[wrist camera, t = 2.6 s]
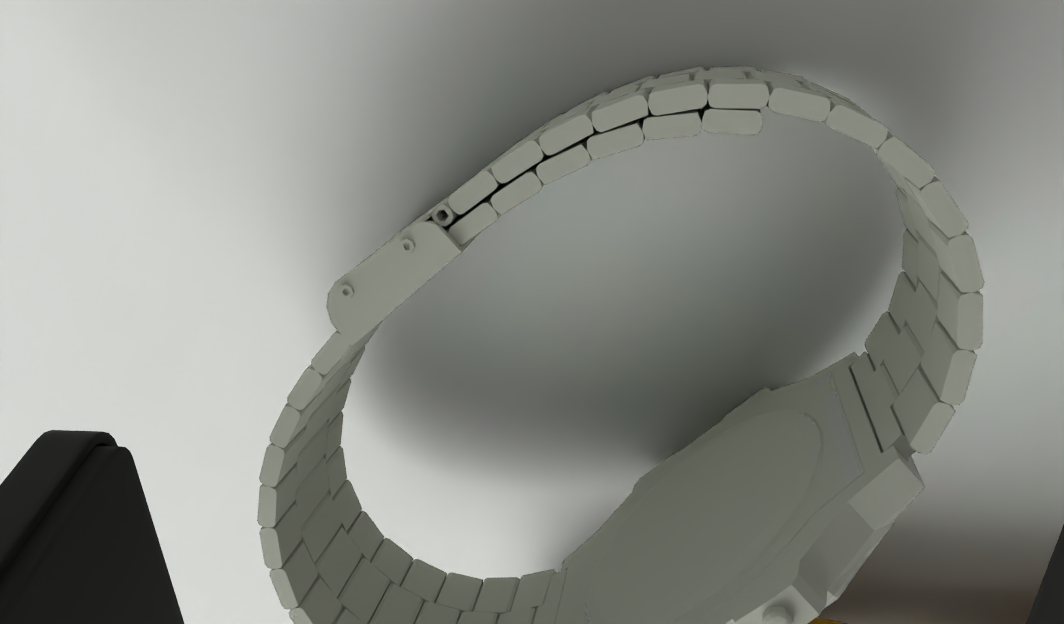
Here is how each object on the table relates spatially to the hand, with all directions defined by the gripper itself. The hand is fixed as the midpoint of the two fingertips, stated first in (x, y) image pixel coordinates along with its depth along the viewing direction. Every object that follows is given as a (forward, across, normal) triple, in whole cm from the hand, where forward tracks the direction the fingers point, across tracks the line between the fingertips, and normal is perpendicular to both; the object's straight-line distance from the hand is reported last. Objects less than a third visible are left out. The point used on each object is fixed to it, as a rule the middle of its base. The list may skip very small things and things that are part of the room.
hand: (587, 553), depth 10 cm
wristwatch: (+4, 0, 0) cm, 4 cm away
